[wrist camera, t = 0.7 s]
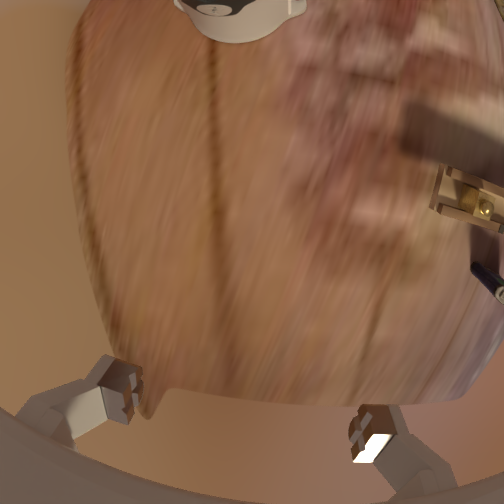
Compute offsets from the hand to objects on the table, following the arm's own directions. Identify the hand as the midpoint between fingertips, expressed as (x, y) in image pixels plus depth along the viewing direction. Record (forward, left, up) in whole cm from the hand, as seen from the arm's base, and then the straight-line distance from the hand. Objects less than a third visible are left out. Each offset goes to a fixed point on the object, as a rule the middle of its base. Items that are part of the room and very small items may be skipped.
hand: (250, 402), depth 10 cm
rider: (-6, +24, -27) cm, 37 cm away
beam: (-6, +31, -36) cm, 48 cm away
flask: (+7, +40, -36) cm, 55 cm away
